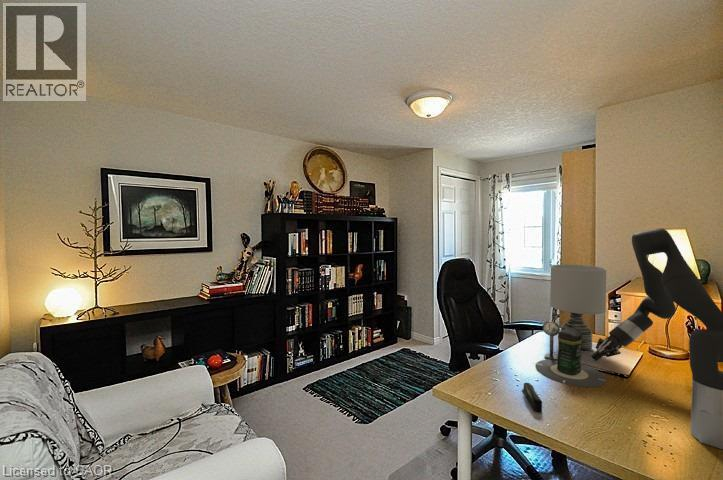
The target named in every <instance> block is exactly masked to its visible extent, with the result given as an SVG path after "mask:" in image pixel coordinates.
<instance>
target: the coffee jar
mask: <svg viewBox="0 0 723 480" xmlns="http://www.w3.org/2000/svg"><path fill="white" fill-rule="evenodd" d="M557 340H558V346H557V347H558V349H557V355H558V362H557V370H558V371H560V372H562V373H564V374H568V375H577V374H579V373H580V372H581V364H582V352H581V342H582V334H581V333H580V332H579V331H578V330H574V329H570V328H569V329H565V330H562V331H561V330H560V331H559V333H558V334H557Z"/></svg>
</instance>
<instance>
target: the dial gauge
mask: <svg viewBox="0 0 723 480" xmlns="http://www.w3.org/2000/svg"><path fill="white" fill-rule="evenodd" d="M542 330H543V332H544V333H545V334H546V335H548V336H549V352H546V353H545V355H544V359H545V360H547V359H552V360H557V359H558V354H554V339H555V338H554V337H555V336H558V333H559V332H560V331H561V326H560V325H559V324H558V323H557V322H556V321H553V320H547V321H545V322H544V323H543V324H542Z"/></svg>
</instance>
